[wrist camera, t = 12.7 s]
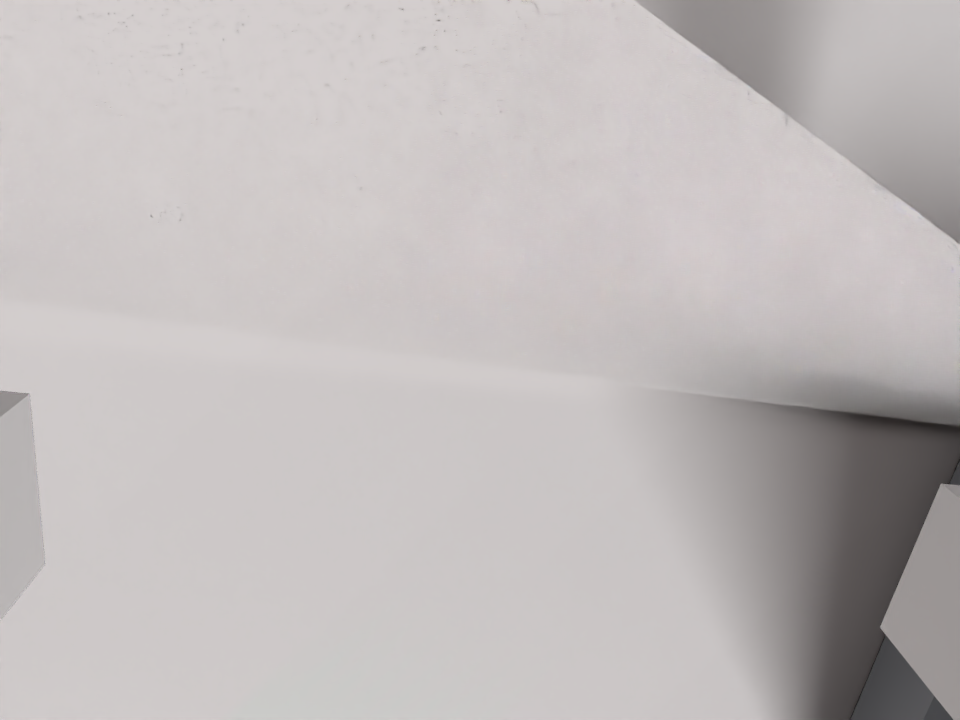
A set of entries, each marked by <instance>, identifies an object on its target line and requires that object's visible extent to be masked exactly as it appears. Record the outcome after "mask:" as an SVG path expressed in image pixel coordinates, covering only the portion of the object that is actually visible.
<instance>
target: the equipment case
mask: <svg viewBox="0 0 960 720" xmlns="http://www.w3.org/2000/svg"><path fill="white" fill-rule="evenodd" d="M950 484H951V485H960V461H959V463H958V465H957V468H956V470H955V472H954V475H953V477H952V480H951V482H950ZM850 720H953V719H952V717H951V716H950V715H949V714H948V712H947V711H946V710H945V709H944V707H943V706H942V705H941V704H940V702H939V701H938V700H937V699H936V697H935V696H934V695H933V694H932V692H931V691H930V690H929V688H928V687H927V686H926V685H925V683H924V682H923V681H922V680H921V678H920V677H919V676H918V675H917V673H916V672H915V671H914V670H913V668H912V667H911V666H910V665H909V663H908V662H907V661H906V660H905V658H904V657H903V656H902V655H901V653H900V652H899V651H898V650H897V648H896V647H895V646H894V645H893V643H892V642H891V641H890V640H889V638H888V637H887V636H885V639H884V641H883V643H882V646H881V648H880V651H879V653H878V655H877V658H876V660H875V662H874V665H873V667H872V670H871V672H870V674H869V677H868V679H867V681H866V684H865V686H864V689H863V691H862V693H861V696H860V698H859V700H858V703H857V705H856V708H855V710H854V712H853V715H852V717H851V719H850Z"/></svg>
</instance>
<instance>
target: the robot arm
mask: <svg viewBox="0 0 960 720" xmlns="http://www.w3.org/2000/svg"><path fill="white" fill-rule="evenodd" d="M44 565H45V553H44V542H43V531H42V521H41V510H40V499H39V488H38V477H37V467H36V456H35V445H34V434H33V423H32V413H31V402H30V394H27V393H17V392H7V391H0V621H1V620H2V618H3V617H4V616H5V615H6V613H7V612H8V611H9V610H10V608H11V607H12V606H13V605H14V603H15V602H16V601H17V599H18V598H19V597H20V596H21V594H22V593H23V592H24V591H25V589H26V588H27V587H28V586H29V584H30V583H31V582H32V581H33V579H34V578H35V577H36V576H37V574H38V573H39V572H40V570H41V569H42V568H43V567H44ZM880 628H881V629H882V631H883V632H884V633H885V634H886V636H887V637H888V638H889V640H890V641H891V642H892V643H893V645H894V646H895V647H896V648H897V650H898V651H899V652H900V653H901V655H902V656H903V657H904V658H905V660H906V661H907V662H908V663H909V665H910V666H911V667H912V668H913V670H914V671H915V672H916V673H917V675H918V676H919V677H920V678H921V680H922V681H923V682H924V683H925V685H926V686H927V687H928V688H929V690H930V691H931V692H932V694H933V695H934V696H935V697H936V699H937V700H938V701H939V702H940V704H941V705H942V706H943V707H944V709H945V710H946V711H947V712H948V714H949V715H950V716H951V717H952V719H953V720H960V485H951V484H941V485H940V487H939V489H938V492H937V494H936V496H935V499H934V501H933V503H932V506H931V508H930V511H929V513H928V515H927V518H926V520H925V522H924V525H923V527H922V529H921V532H920V534H919V536H918V539H917V541H916V544H915V546H914V548H913V551H912V553H911V555H910V558H909V560H908V562H907V565H906V567H905V569H904V572H903V574H902V577H901V579H900V581H899V584H898V586H897V588H896V591H895V593H894V595H893V598H892V600H891V602H890V605H889V607H888V610H887V612H886V614H885V617H884V619H883V621H882V624H881V626H880Z"/></svg>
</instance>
